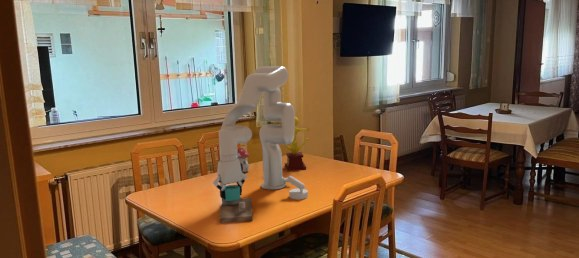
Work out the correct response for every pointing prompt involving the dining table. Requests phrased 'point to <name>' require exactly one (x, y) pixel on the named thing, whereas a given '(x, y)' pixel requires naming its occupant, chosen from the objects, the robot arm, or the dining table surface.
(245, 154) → the decorative ornament
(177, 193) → the dining table surface
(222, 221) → the board
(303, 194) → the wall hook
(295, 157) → the potted plant
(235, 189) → the collar
